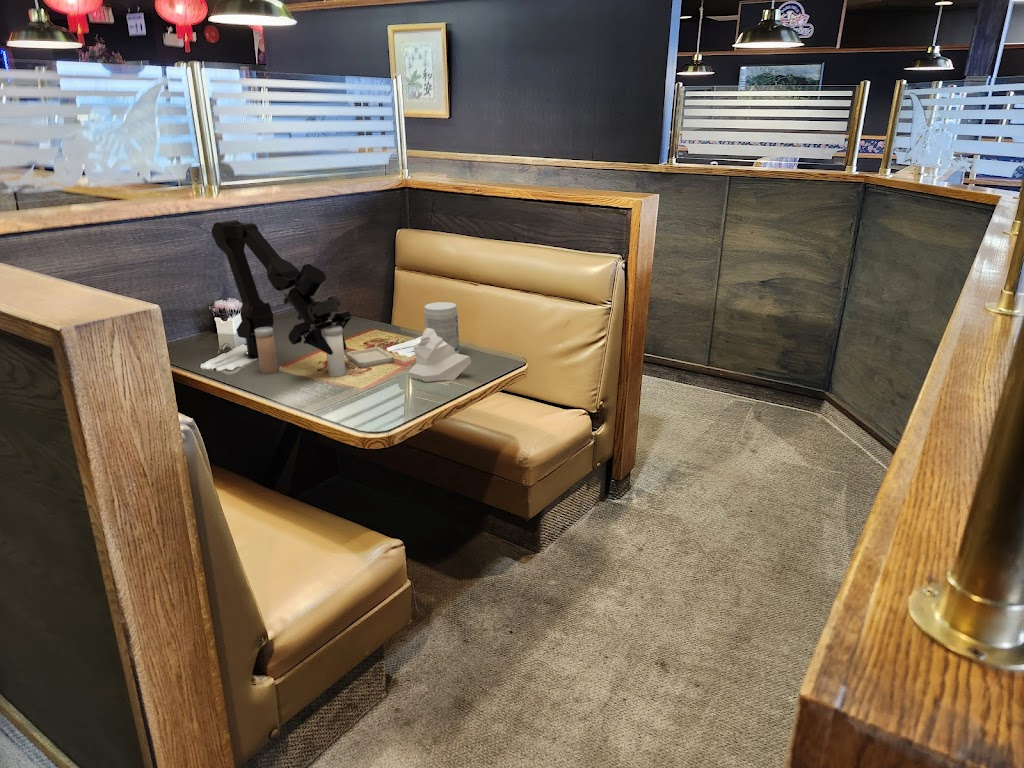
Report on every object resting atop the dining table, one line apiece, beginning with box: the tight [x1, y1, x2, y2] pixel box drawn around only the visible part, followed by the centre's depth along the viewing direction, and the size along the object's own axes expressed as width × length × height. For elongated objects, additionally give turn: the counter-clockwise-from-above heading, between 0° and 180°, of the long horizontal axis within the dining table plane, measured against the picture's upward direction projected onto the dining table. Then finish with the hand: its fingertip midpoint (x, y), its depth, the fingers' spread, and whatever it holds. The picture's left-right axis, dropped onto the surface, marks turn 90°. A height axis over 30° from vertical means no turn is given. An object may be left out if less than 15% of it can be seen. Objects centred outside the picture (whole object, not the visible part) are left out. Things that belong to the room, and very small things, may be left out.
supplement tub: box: [423, 301, 460, 354], centre depth 209 cm, size 10×10×15 cm
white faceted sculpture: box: [408, 328, 472, 383], centre depth 191 cm, size 12×15×14 cm
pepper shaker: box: [255, 327, 279, 375], centre depth 197 cm, size 5×5×12 cm
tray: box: [345, 346, 395, 369], centre depth 207 cm, size 12×10×2 cm
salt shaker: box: [323, 325, 347, 378], centre depth 194 cm, size 5×5×13 cm
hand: (338, 351), depth 193 cm, fingers closed on salt shaker, 5 cm apart
